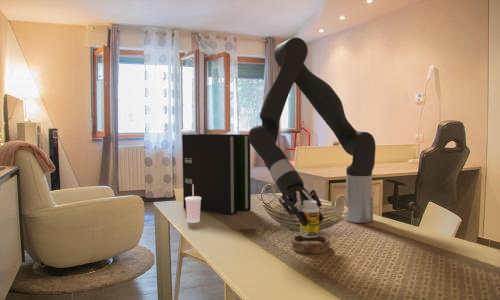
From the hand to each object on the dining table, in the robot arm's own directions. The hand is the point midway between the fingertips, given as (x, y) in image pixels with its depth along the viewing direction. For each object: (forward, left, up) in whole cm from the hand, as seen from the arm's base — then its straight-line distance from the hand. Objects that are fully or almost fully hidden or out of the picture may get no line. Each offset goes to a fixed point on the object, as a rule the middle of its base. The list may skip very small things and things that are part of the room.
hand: (314, 222), depth 112 cm
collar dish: (+1, -1, -8) cm, 8 cm away
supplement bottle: (+1, -1, -4) cm, 5 cm away
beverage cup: (+41, -32, -8) cm, 53 cm away
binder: (+35, -54, -8) cm, 65 cm away
